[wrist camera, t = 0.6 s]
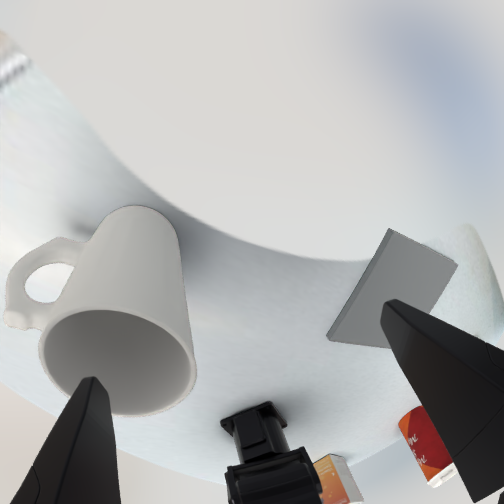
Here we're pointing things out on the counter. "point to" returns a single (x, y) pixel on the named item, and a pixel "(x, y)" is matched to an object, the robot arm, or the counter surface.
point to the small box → (337, 481)
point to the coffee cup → (427, 447)
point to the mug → (113, 313)
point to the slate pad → (392, 288)
